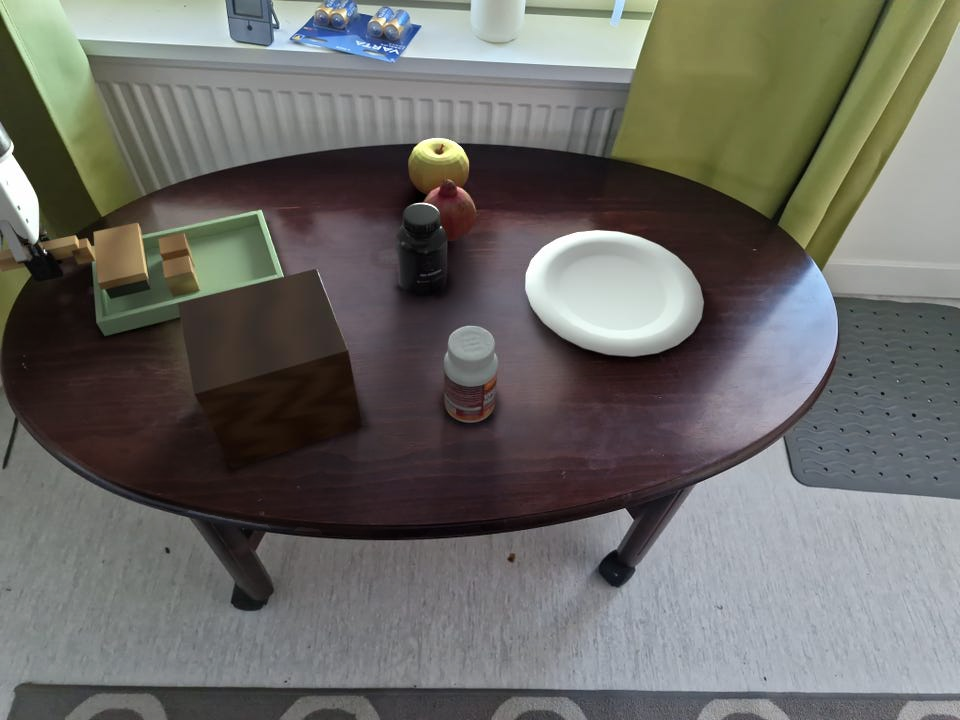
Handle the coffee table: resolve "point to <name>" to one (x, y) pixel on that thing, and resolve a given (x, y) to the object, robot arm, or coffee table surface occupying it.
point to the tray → (218, 264)
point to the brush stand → (270, 366)
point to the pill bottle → (470, 374)
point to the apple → (437, 164)
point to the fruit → (453, 209)
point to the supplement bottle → (422, 251)
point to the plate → (614, 293)
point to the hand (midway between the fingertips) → (49, 270)
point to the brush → (102, 258)
